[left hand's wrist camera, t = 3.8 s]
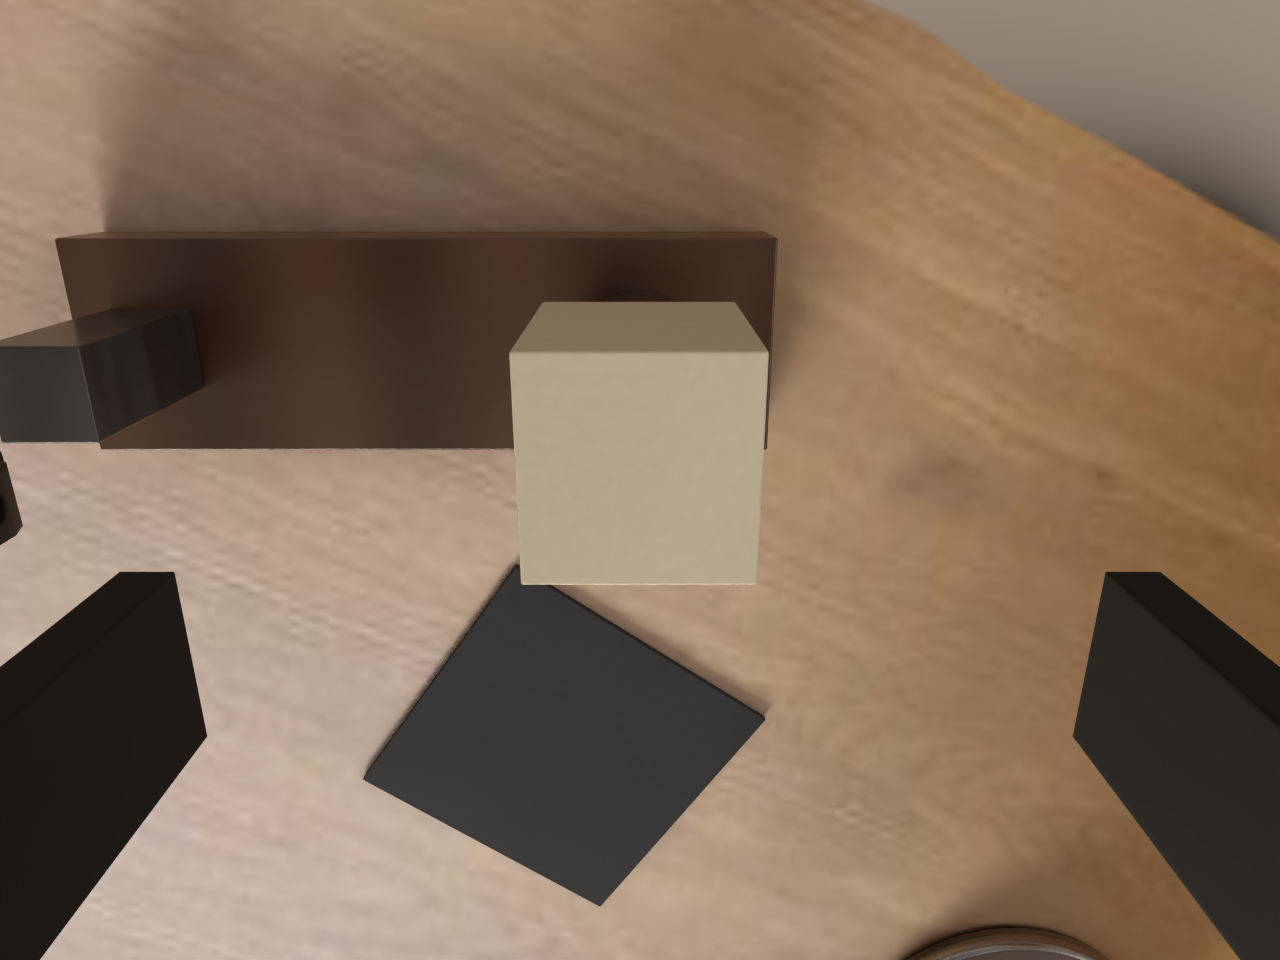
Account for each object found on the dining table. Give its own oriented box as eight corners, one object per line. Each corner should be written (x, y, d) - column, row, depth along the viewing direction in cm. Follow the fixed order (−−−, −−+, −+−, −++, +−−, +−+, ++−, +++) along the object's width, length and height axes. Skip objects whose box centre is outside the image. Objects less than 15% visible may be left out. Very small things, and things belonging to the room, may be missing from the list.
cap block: (735, 301, 26) (769, 351, 19) (729, 483, 27) (757, 585, 21) (542, 301, 26) (508, 351, 19) (549, 483, 27) (520, 585, 21)
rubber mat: (764, 716, 42) (765, 720, 42) (600, 902, 46) (600, 906, 46) (516, 563, 39) (516, 566, 39) (364, 775, 43) (362, 779, 43)
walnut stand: (766, 231, 35) (814, 259, 25) (757, 428, 37) (797, 518, 28) (101, 231, 34) (-100, 259, 25) (141, 428, 37) (-27, 519, 28)
